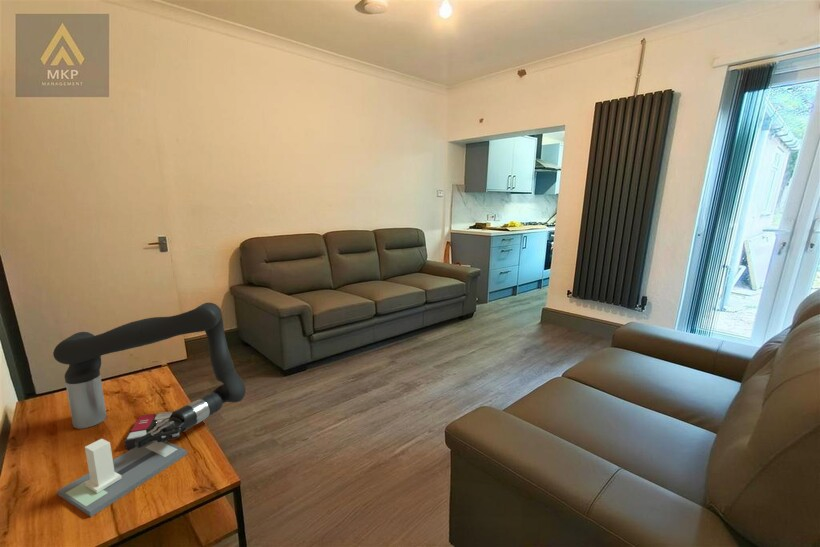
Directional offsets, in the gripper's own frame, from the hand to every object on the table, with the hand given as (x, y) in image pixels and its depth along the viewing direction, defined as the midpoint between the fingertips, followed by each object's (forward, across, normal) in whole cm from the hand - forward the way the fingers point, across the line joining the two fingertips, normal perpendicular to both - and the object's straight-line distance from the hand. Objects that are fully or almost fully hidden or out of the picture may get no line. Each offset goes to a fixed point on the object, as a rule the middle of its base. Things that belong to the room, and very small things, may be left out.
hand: (136, 444), depth 109 cm
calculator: (-11, -13, +8) cm, 19 cm away
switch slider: (+9, 0, +6) cm, 11 cm away
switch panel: (+3, 0, +8) cm, 8 cm away
